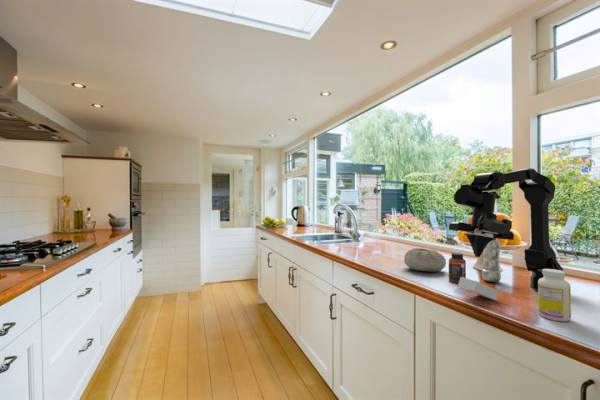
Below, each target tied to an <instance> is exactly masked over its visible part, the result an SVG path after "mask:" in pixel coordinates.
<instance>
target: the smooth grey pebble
mask: <svg viewBox="0 0 600 400" xmlns="http://www.w3.org/2000/svg"><path fill="white" fill-rule="evenodd" d="M403 261H404V264H405V266H407V267H408V268H410V269H411V270H414V271H417V272H418V271H419V272H438V271H442V270H444V268H445V267H446V264H447V262H446V258H445V256H444V255H443V254H442V253H440V252H438V251H436V250H433V249H432V250H431V249H427V248H421V247H415V248H414V247H413V248H411V249H409V250H407V252H406V253H404V259H403Z"/></svg>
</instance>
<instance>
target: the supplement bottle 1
mask: <svg viewBox="0 0 600 400" xmlns="http://www.w3.org/2000/svg"><path fill="white" fill-rule="evenodd" d="M466 264H467V263H466V259H464V254H463V253H461V252H452V253H451V257H450V258H449V259H448V281H449V282H451V283H453V284H454V283H455V284H459V281H460V277H462V278H466V279H467V277H466V276H467V272H466V271H467V265H466Z"/></svg>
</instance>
